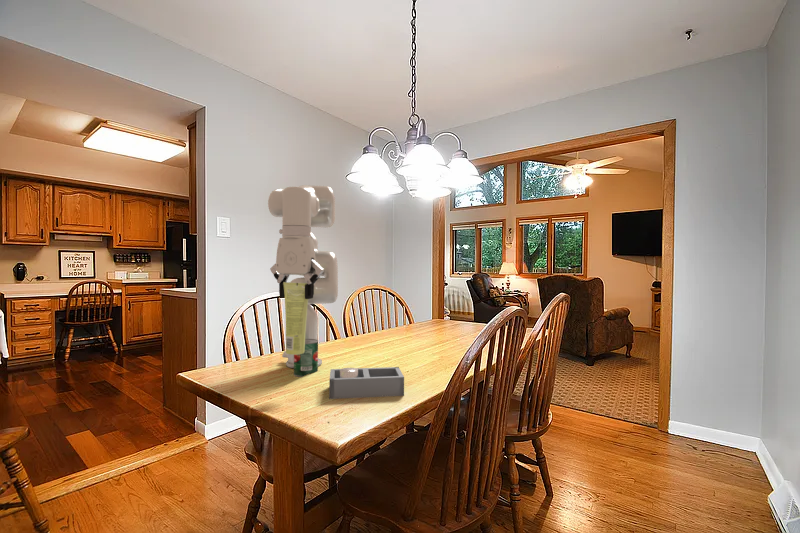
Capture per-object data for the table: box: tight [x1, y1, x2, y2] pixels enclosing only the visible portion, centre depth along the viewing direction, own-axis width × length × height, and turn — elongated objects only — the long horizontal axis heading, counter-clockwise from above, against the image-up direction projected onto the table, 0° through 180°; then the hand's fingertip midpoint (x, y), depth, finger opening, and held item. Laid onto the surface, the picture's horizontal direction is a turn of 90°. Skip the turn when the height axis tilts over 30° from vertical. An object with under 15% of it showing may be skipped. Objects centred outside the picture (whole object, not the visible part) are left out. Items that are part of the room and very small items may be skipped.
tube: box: [283, 281, 308, 355], centre depth 106 cm, size 6×5×20 cm
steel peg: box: [340, 367, 358, 378], centre depth 108 cm, size 5×5×6 cm
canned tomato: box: [293, 339, 319, 378], centre depth 128 cm, size 8×8×11 cm
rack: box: [328, 366, 405, 400], centre depth 108 cm, size 20×10×6 cm, turn 99°
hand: (296, 297), depth 105 cm, fingers closed on tube, 7 cm apart
